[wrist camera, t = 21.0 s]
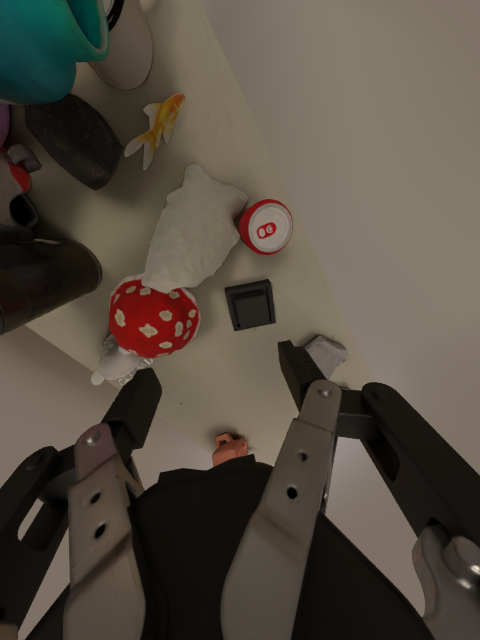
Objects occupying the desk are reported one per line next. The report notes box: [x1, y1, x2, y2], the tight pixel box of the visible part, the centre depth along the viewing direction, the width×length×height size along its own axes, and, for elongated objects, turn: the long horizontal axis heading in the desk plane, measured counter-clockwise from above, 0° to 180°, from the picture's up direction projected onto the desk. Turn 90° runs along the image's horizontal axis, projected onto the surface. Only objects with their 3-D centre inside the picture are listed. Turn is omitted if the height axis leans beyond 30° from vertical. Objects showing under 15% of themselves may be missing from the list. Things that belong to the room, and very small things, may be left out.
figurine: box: [91, 335, 153, 385], centre depth 38 cm, size 12×8×10 cm
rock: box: [141, 164, 248, 294], centre depth 27 cm, size 12×4×20 cm
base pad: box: [225, 279, 276, 331], centre depth 38 cm, size 9×9×2 cm
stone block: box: [303, 335, 348, 380], centre depth 45 cm, size 12×5×10 cm
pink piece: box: [212, 433, 248, 467], centre depth 54 cm, size 12×12×10 cm
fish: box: [124, 93, 185, 171], centre depth 25 cm, size 10×1×5 cm, turn 132°
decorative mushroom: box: [109, 273, 201, 358], centre depth 31 cm, size 14×14×15 cm
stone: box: [24, 93, 123, 190], centre depth 23 cm, size 8×8×10 cm
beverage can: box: [238, 199, 293, 255], centre depth 28 cm, size 6×6×12 cm
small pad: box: [235, 290, 270, 328], centre depth 37 cm, size 6×6×3 cm
